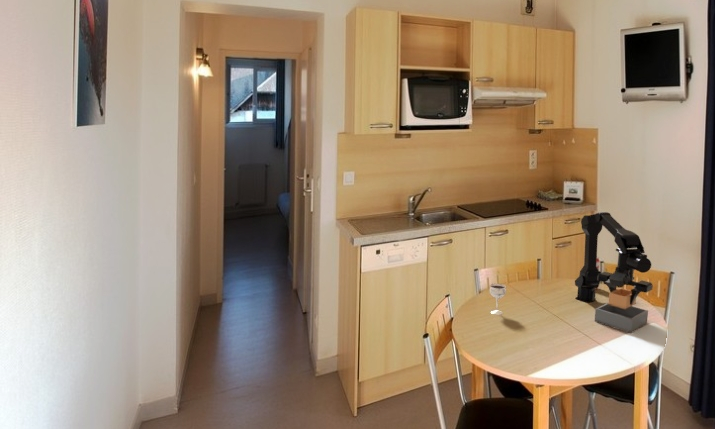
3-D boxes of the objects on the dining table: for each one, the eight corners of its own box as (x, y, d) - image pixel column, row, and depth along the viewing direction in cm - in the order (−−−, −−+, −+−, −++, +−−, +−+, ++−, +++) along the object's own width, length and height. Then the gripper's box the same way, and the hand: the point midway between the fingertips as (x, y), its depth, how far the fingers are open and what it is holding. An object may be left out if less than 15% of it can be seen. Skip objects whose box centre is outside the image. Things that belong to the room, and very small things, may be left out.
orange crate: (608, 304, 183) (609, 292, 182) (618, 299, 188) (620, 287, 187) (625, 309, 178) (626, 297, 177) (635, 303, 183) (636, 292, 182)
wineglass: (487, 313, 196) (488, 287, 193) (490, 308, 202) (491, 282, 199) (503, 316, 193) (504, 289, 190) (506, 310, 198) (507, 284, 196)
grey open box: (594, 321, 186) (595, 308, 185) (611, 312, 194) (612, 300, 193) (630, 333, 175) (632, 319, 174) (646, 323, 183) (648, 310, 182)
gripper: (592, 263, 183) (589, 299, 186) (642, 274, 168) (638, 314, 171) (605, 258, 189) (602, 293, 192) (655, 268, 175) (651, 306, 178)
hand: (622, 301), depth 183 cm, fingers closed on orange crate, 6 cm apart
